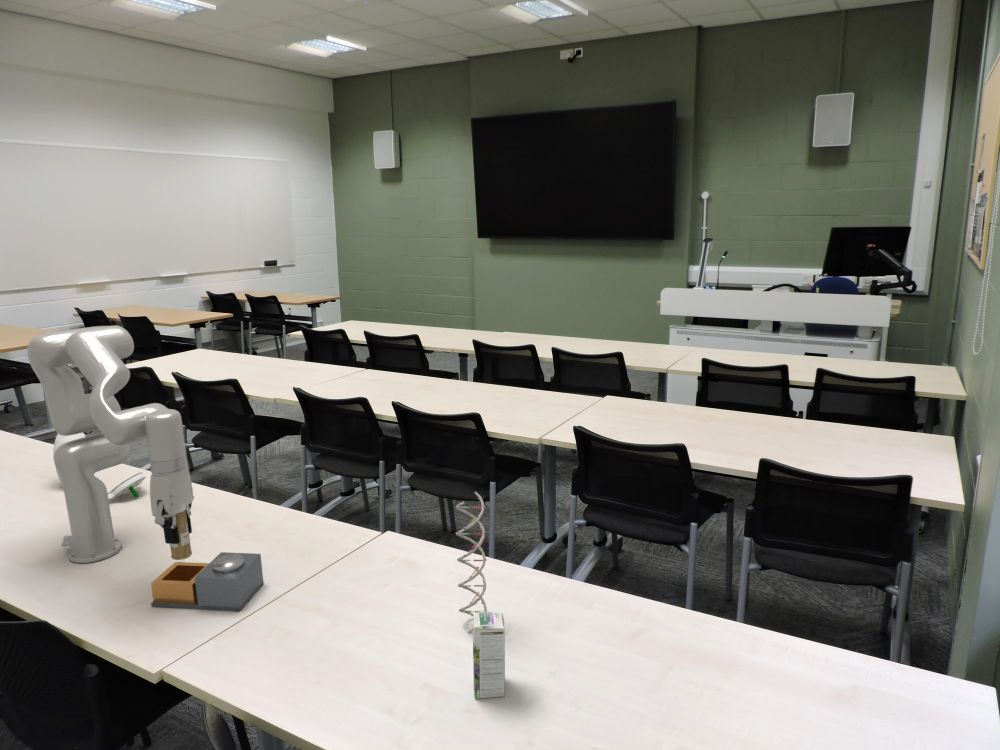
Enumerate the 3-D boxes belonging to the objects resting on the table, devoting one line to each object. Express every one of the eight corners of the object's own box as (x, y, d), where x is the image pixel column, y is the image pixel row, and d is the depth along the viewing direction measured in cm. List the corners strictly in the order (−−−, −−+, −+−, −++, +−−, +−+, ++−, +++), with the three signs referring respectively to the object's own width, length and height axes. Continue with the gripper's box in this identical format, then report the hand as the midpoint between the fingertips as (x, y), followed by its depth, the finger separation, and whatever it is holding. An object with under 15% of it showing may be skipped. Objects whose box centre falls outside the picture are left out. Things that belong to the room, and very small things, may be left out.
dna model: (481, 636, 147) (478, 504, 140) (453, 631, 149) (449, 500, 142) (492, 619, 153) (490, 492, 146) (465, 614, 155) (461, 488, 148)
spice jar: (193, 557, 163) (187, 503, 160) (172, 562, 160) (165, 508, 157) (190, 549, 166) (183, 497, 163) (169, 555, 164) (162, 501, 161)
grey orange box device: (151, 607, 160) (146, 571, 158) (186, 574, 175) (182, 541, 173) (240, 611, 158) (236, 575, 156) (268, 577, 173) (265, 544, 170)
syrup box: (473, 679, 134) (471, 611, 130) (503, 677, 134) (502, 610, 131) (474, 699, 128) (472, 629, 125) (506, 697, 129) (505, 627, 125)
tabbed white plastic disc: (132, 484, 232) (143, 458, 228) (151, 498, 231) (162, 472, 227) (96, 502, 218) (107, 475, 214) (116, 517, 217) (127, 490, 213)
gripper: (174, 451, 167) (183, 521, 171) (130, 477, 150) (141, 554, 154) (203, 451, 166) (212, 522, 170) (163, 478, 150) (173, 555, 154)
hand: (178, 537), depth 162 cm, fingers closed on spice jar, 4 cm apart
